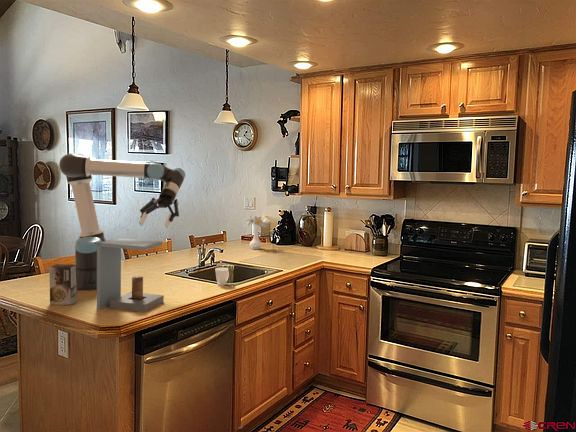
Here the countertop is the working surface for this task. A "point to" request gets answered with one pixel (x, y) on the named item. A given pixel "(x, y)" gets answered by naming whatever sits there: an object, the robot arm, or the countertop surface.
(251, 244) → the flower vase
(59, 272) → the coffee box
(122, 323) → the countertop surface
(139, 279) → the peg
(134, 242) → the grey l-shaped frame
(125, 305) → the socket
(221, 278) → the cup
